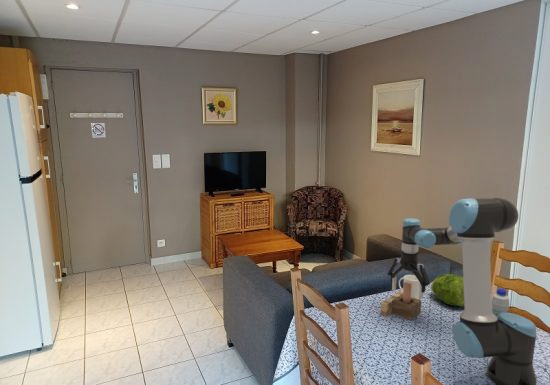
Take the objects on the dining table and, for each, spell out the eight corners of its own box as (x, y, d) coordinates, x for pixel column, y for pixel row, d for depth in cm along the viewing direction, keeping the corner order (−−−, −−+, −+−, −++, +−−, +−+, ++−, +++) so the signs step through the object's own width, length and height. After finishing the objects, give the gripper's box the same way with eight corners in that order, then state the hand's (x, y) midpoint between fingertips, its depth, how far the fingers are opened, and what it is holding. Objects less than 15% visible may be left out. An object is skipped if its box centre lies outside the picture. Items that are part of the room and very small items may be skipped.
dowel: (408, 313, 187) (409, 285, 185) (401, 311, 189) (402, 283, 187) (411, 311, 189) (413, 283, 187) (404, 308, 192) (405, 281, 190)
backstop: (386, 316, 186) (386, 304, 185) (380, 314, 188) (381, 302, 187) (405, 303, 200) (406, 292, 199) (400, 301, 202) (400, 290, 201)
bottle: (508, 337, 168) (513, 292, 165) (491, 335, 169) (496, 291, 166) (503, 329, 174) (507, 286, 171) (486, 327, 176) (490, 285, 172)
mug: (393, 296, 209) (394, 274, 207) (404, 292, 213) (405, 271, 212) (412, 304, 199) (413, 281, 197) (422, 300, 204) (424, 278, 202)
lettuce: (448, 297, 214) (440, 270, 215) (482, 300, 195) (473, 270, 196) (427, 307, 207) (419, 279, 208) (460, 311, 188) (451, 280, 189)
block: (411, 320, 182) (412, 307, 181) (391, 313, 189) (392, 300, 188) (420, 313, 189) (421, 300, 188) (401, 306, 196) (401, 294, 195)
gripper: (439, 255, 179) (436, 299, 182) (389, 244, 196) (387, 284, 199) (432, 259, 173) (429, 304, 177) (381, 247, 190) (379, 288, 194)
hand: (407, 294), depth 188 cm, fingers open, 13 cm apart
